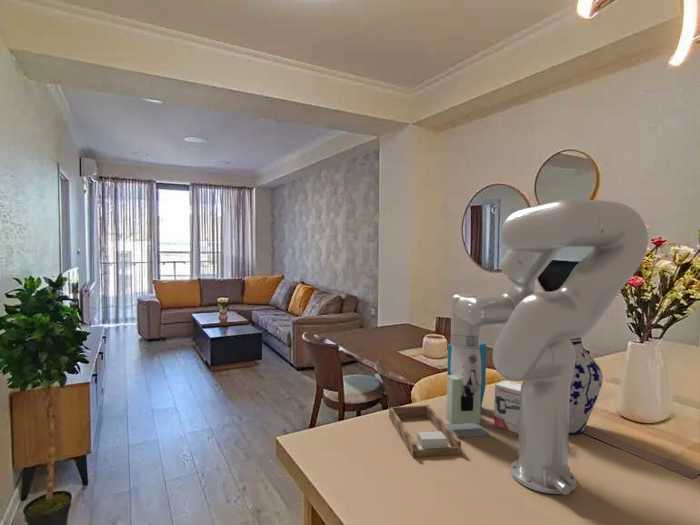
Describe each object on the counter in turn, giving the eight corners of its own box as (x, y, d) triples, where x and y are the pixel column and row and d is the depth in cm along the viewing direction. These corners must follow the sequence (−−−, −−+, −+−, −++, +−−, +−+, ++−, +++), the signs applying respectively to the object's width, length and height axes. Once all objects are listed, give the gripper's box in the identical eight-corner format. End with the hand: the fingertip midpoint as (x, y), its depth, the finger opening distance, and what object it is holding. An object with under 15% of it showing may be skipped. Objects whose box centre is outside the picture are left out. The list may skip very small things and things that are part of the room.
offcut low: (451, 455, 98) (451, 447, 98) (419, 457, 97) (419, 449, 97) (443, 445, 103) (443, 437, 103) (412, 447, 102) (413, 439, 102)
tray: (460, 454, 98) (460, 441, 97) (412, 457, 96) (413, 444, 96) (428, 415, 120) (428, 405, 120) (389, 417, 119) (389, 407, 118)
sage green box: (479, 422, 109) (481, 378, 109) (451, 424, 108) (452, 379, 108) (474, 417, 113) (475, 374, 112) (446, 418, 112) (447, 375, 111)
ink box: (493, 425, 114) (493, 383, 113) (501, 420, 117) (502, 379, 117) (523, 435, 108) (524, 391, 107) (531, 430, 111) (532, 386, 111)
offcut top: (446, 446, 98) (446, 438, 98) (421, 447, 98) (421, 439, 98) (440, 439, 102) (440, 431, 102) (417, 439, 102) (417, 431, 102)
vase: (610, 447, 101) (613, 326, 100) (526, 435, 108) (529, 321, 107) (592, 417, 119) (594, 315, 118) (521, 409, 126) (523, 311, 125)
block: (474, 402, 130) (475, 340, 130) (486, 408, 126) (487, 343, 125) (445, 409, 124) (446, 344, 124) (457, 415, 120) (458, 348, 119)
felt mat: (489, 435, 107) (489, 433, 107) (449, 438, 106) (449, 436, 106) (476, 423, 115) (476, 422, 115) (439, 425, 113) (439, 424, 113)
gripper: (493, 347, 102) (491, 419, 103) (465, 333, 118) (463, 395, 119) (465, 348, 101) (463, 421, 102) (440, 333, 117) (439, 396, 118)
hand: (463, 406), depth 110 cm, fingers closed on sage green box, 3 cm apart
